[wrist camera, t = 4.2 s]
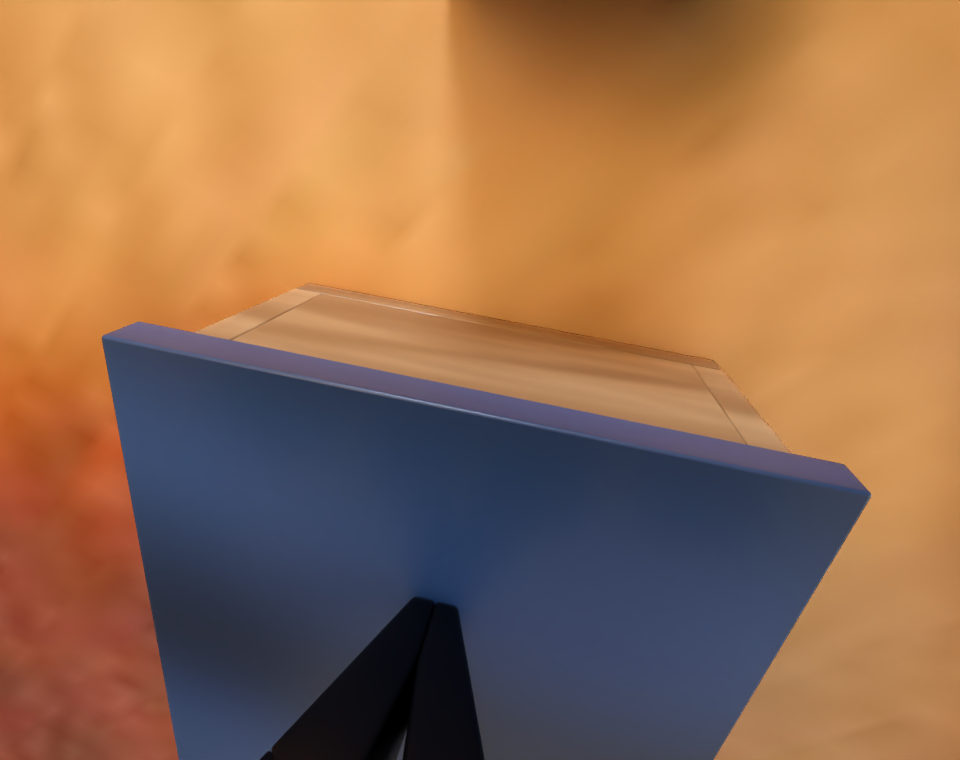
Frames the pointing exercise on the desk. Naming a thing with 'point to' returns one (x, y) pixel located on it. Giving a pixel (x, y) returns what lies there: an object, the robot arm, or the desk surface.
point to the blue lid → (456, 549)
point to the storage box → (504, 360)
